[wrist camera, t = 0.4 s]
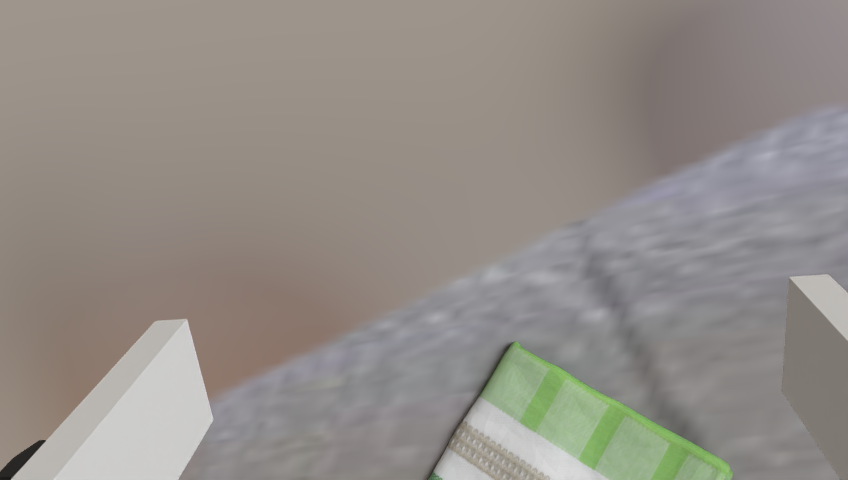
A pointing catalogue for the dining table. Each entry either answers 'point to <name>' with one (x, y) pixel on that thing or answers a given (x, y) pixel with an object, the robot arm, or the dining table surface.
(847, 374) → the robot arm
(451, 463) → the dish towel
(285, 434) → the dining table surface
